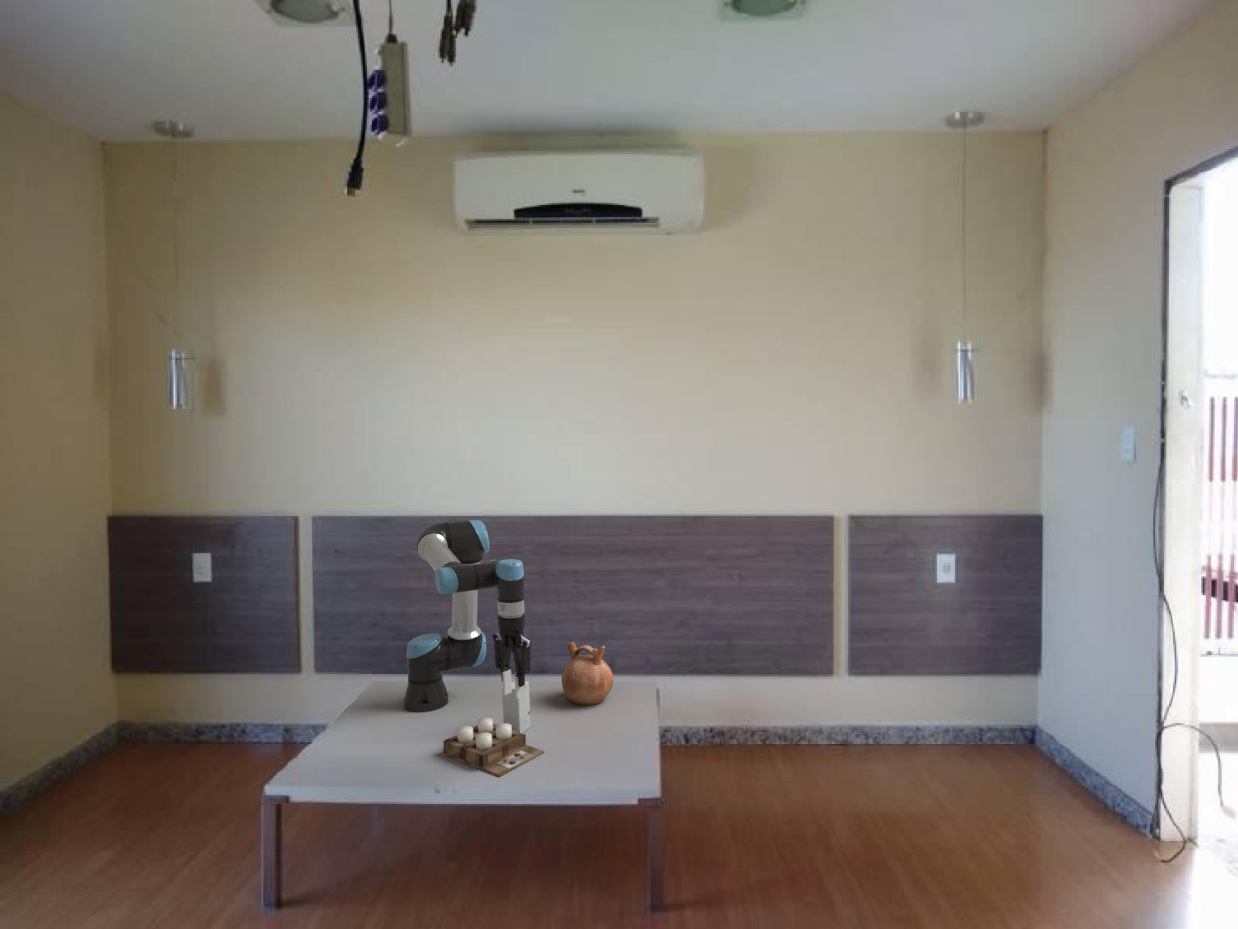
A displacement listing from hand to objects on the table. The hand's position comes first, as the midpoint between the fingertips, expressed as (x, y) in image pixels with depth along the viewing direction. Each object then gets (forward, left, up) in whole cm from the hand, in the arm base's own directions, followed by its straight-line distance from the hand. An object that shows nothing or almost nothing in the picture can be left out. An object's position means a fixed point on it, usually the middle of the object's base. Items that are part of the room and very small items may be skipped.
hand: (513, 695), depth 216 cm
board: (-9, 0, -20) cm, 22 cm away
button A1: (-17, -4, -17) cm, 24 cm away
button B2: (-9, +4, -17) cm, 19 cm away
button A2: (-16, +4, -17) cm, 24 cm away
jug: (-13, +49, -20) cm, 54 cm away
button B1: (-8, -4, -17) cm, 19 cm away
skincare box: (-15, +16, -20) cm, 30 cm away
